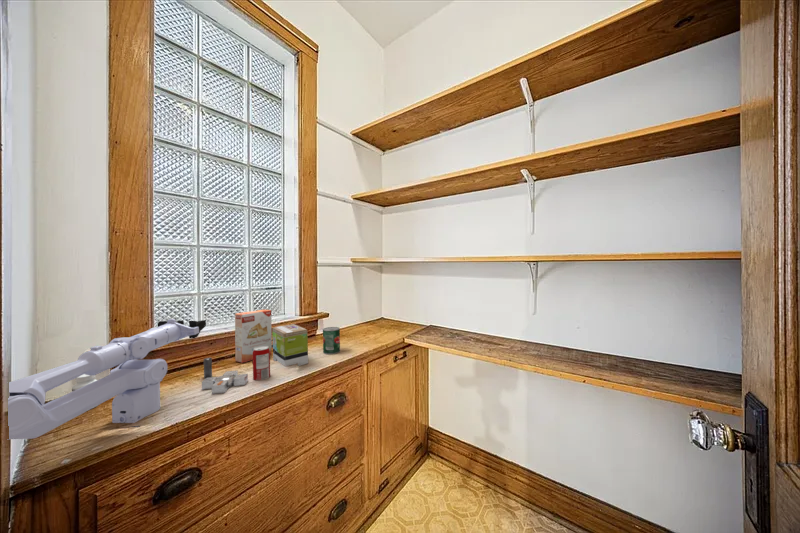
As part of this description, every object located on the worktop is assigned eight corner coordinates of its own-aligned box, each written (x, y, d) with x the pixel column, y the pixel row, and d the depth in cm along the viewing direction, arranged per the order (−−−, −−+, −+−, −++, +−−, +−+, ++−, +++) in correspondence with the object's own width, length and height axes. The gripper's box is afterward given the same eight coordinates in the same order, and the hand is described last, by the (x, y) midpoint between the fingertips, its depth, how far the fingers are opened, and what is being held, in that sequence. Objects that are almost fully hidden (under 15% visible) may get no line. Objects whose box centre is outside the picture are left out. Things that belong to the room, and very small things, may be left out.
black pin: (209, 382, 101) (208, 359, 101) (202, 382, 101) (202, 359, 101) (213, 379, 103) (213, 357, 103) (207, 379, 103) (206, 357, 103)
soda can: (261, 376, 105) (261, 344, 105) (273, 378, 103) (273, 345, 103) (249, 382, 99) (248, 348, 99) (262, 384, 98) (261, 349, 98)
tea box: (272, 360, 123) (271, 326, 123) (295, 355, 129) (294, 323, 129) (284, 370, 111) (283, 332, 111) (309, 363, 118) (308, 328, 118)
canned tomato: (321, 350, 136) (321, 327, 136) (338, 348, 139) (337, 326, 139) (324, 355, 129) (324, 331, 129) (341, 352, 132) (341, 329, 132)
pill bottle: (85, 403, 86) (84, 371, 86) (104, 402, 86) (104, 370, 86) (66, 413, 80) (65, 378, 80) (87, 411, 81) (86, 377, 81)
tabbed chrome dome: (251, 376, 102) (251, 368, 102) (240, 390, 90) (240, 382, 90) (212, 379, 99) (211, 372, 99) (195, 395, 87) (195, 387, 87)
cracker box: (242, 363, 119) (241, 314, 119) (234, 361, 123) (233, 313, 123) (272, 354, 131) (271, 309, 131) (264, 352, 134) (264, 308, 134)
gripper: (182, 323, 83) (213, 311, 96) (133, 323, 83) (171, 312, 97) (184, 346, 83) (215, 331, 97) (136, 347, 84) (173, 332, 97)
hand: (193, 323), depth 97 cm, fingers open, 7 cm apart
